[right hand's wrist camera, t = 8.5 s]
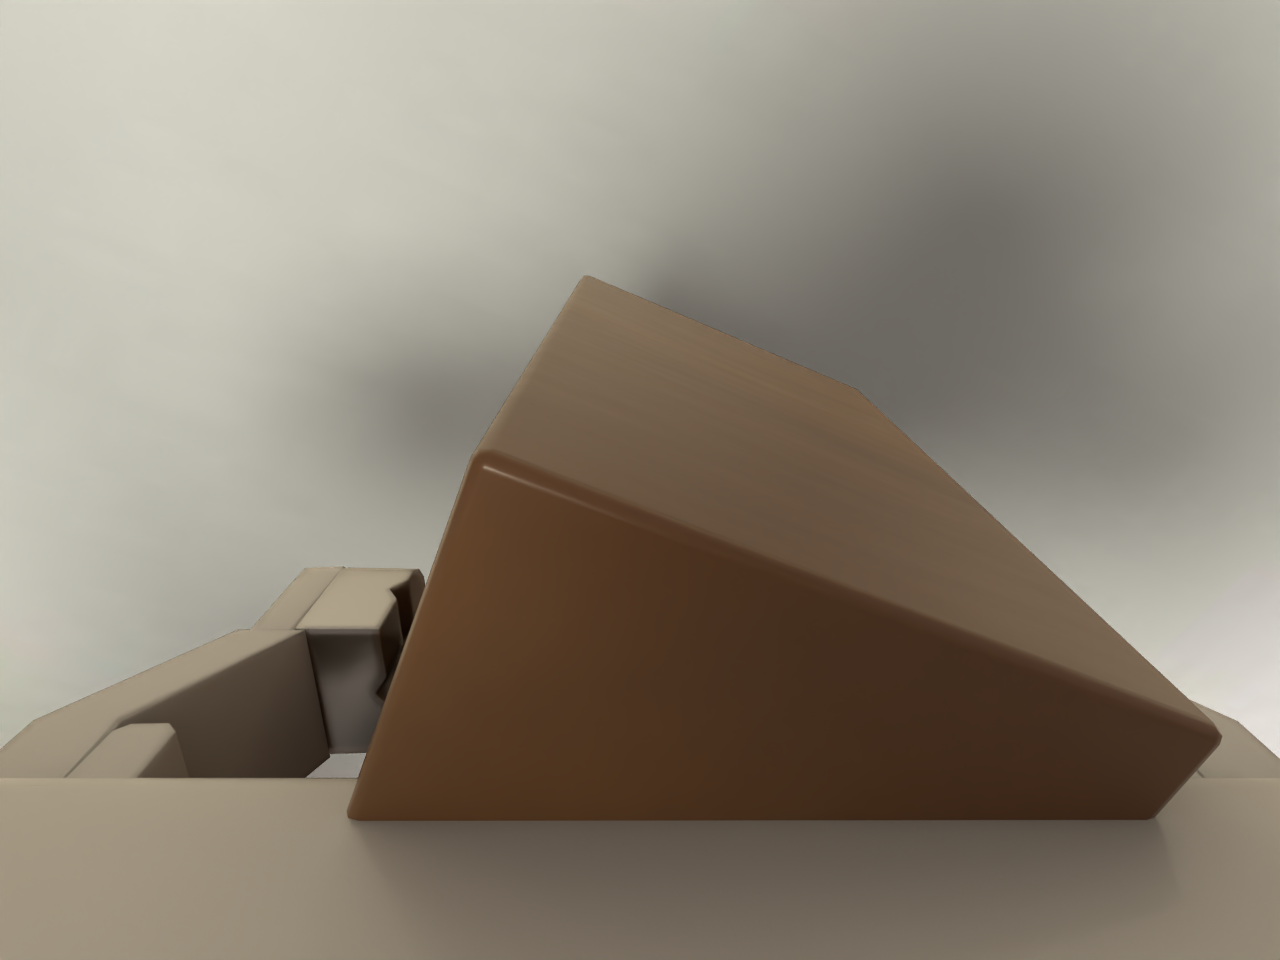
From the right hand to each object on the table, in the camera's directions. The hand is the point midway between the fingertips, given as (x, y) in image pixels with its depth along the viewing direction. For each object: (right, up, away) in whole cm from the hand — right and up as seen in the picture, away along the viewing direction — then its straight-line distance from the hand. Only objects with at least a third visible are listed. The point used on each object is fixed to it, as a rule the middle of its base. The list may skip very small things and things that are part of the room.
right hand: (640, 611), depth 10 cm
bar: (-3, -6, +5) cm, 8 cm away
